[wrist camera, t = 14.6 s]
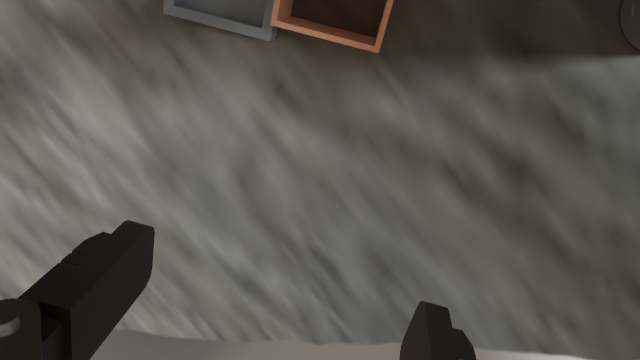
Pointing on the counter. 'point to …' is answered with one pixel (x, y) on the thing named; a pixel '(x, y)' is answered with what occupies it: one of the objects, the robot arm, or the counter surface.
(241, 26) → the slate tray
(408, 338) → the robot arm
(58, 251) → the counter surface
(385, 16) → the terracotta square open box
